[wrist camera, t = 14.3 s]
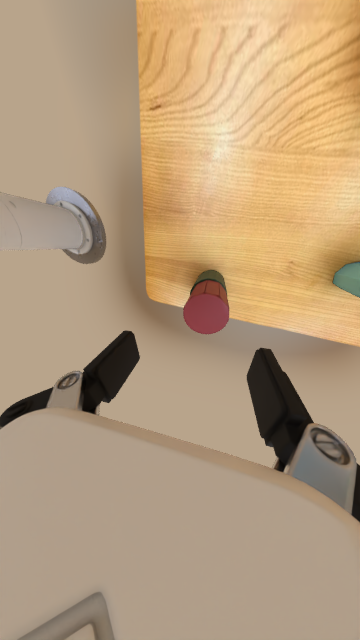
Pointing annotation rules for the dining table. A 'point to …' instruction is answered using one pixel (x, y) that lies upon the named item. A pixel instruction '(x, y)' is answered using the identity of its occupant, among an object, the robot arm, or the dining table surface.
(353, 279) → the cup
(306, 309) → the dining table surface
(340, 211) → the dining table surface
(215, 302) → the grooved red cylinder
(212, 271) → the green bottle
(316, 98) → the dining table surface
